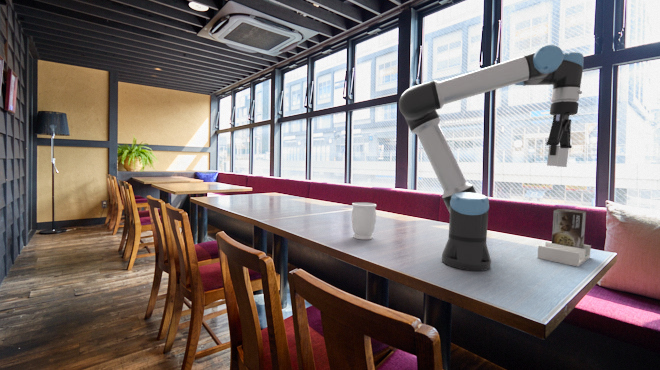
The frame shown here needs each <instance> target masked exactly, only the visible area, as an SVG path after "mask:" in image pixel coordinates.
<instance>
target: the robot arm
mask: <svg viewBox="0 0 660 370" xmlns="http://www.w3.org/2000/svg"><path fill="white" fill-rule="evenodd" d="M584 58H585V57H584V54H583V53H581V52H565V53H564V52H563V50H562V49H561V48H560V46H557V45H555V44H547V45H544V46H542V47H541V48H539V49H538V50H537V51H535V52H532V53H528V54H526V55H523V56H519V57H516V58H512V59H509V60H505V61H502V62H500V63H497V64H493V65H490V66H487V67H483V68H480V69H477V70H474V71H470V72H467V73H464V74H460V75H458V76H457V75H456V76H454V77H451V78H448V79H444V80H441V81H438V80H437V79H433V80H430V81H428V82H424V83H421V84H417V85H413V86H411V87H409V88H408V89H406V90H405V91H404V92H403V93H401V96H400V98H399V100H398V107H399V108H398V109H399V111H400V113H401V114H402V116H403V117H404V120H405V121H406V124H407V126H408V128H409V130H410V133H412V134H414V135H417V137H418V139H419V142H420V143H421V146H422V148H423V150H424V152H425V155H426V157H427V159H428V160H429V162H430V165H431V167H432V169H433V171H434V174H435V175H436V178H437V180H438V182H439V184H440V186H441V188H442V190H443V193H442V196H441V198H442V200H443V203H444V205H445V206H446V209H447V210H448V212H449V223H448V239H447V241H446V243H445V245H444V246H445V247H444V249H443V250H442V254H441V262H442V263H443V264H445V265H447V266H450V267H452V268H455V269H460V270H465V271H473V272H474V271H476V272H477V271H487V270H490V268H491V265H492V259H491V256H490V255H491V254H490V252H489V248H488V246H487V237H488V235H487V234H488V222H489V209H490V204H489V203H490V200H489V198H488V197H487V196H486V195H485V194H481V193H479V192H477V191H476V189H475V186H474V185H473V184H472V183H469V182H467V180H466V178H465V176H464V173H463V172H462V170H461V168H460V165H459V164H458V161H457V159H456V157H455V156H454V153H453V152H452V149H451V147H450V145H449V143H448V140H447V138H446V136H445V135H444V133H443V130H442V129H441V126H440V121H441V116H440V114H439V112H438V110H441V109H442V108H443V107H444V105H446V104H451V103H453V102H457V101H461V100H464V99H467V98H470V97H474V96H478V95H480V94H481V95H482V94H485V93H487V92H491V91H495V90H498V89H503V88H504V87H505V88H506V87H509V86H511V85H512V86H513V85H515V86H546V85H547V86H550V85H552V91H551V100H550V102H551V104H550V109H549V115H550V116H553V117H552V124H551V127H550V130H549V131H550V132H549V136H548V139H547V141H546V143H545V144H546V146H549V147H548V154H547V162H546V166H547V167H549V166H550V167H557V168H567V167H568V166H567V165H568V156H569V149H572V147H573V145H572V144H571V135H572V132H571V131H572V130H571V128H572V127H571V125H572V119H570V116H575V115H577V114H578V111H579V102H578V101H579V100H580V95H582V94H583V92H582V91H581V86H582V85H581V84H582V78H583V73H584V72H583V70H584Z"/></svg>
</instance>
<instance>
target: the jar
mask: <svg viewBox="0 0 660 370" xmlns="http://www.w3.org/2000/svg"><path fill="white" fill-rule="evenodd" d="M351 206H352V210H351V224H352V225H351V226H352V231H353V238H354V239H357V240H361V241H362V240H363V241H366V240H372V239H373V237H374V236H373V235H372V234H373V233H374V231H375V227H376V226H375V225H376V223H377V212H376V208H377V207H378V206H377V204H376V203H373V202H365V201H364V202H363V201H362V202H359V201H358V202H352V203H351Z"/></svg>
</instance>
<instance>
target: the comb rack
mask: <svg viewBox="0 0 660 370" xmlns="http://www.w3.org/2000/svg"><path fill="white" fill-rule="evenodd" d="M537 247H538V248H537V259H540V260H546V261H551V262H555V263H559V264H564V265H569V266H574V267H580V266H581V265H582V264H584V263H585V262H586V261H588V260H589V259H590V258H591V249H592V245H589V244H584V247H583V249H582V248H576V247H571V246H565V245H560V244H554V243H552V242H545V245H537Z"/></svg>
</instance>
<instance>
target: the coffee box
mask: <svg viewBox="0 0 660 370" xmlns="http://www.w3.org/2000/svg"><path fill="white" fill-rule="evenodd" d="M586 218H587V211H586V210H585V211H584V210H574V209H573V210H572V209H567V208H566V209H563V208H557V209H554V210H553V219H552V233H551V243H554V244H560V245H565V246H571V247H576V248H582V249H583V247H584V245H585V232H586V220H587V219H586Z"/></svg>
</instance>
